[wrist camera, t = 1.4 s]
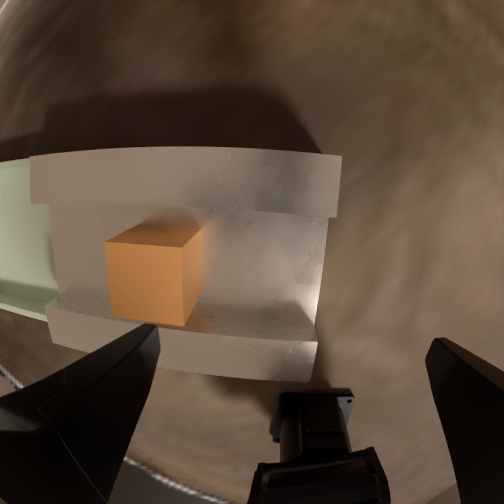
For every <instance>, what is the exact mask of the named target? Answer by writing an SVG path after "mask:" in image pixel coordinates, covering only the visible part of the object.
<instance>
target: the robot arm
mask: <svg viewBox="0 0 504 504" xmlns="http://www.w3.org/2000/svg"><path fill="white" fill-rule="evenodd" d="M160 349H161V346H160V338H159V329H158V326H157V325H155V324H149V323H144V324H142V325H140V326H138V327H137V328H135V329H133V330H131V331H129V332H128V333H126V334H124V335H122V336H120V337H119V338H117V339H115V340H113V341H111V342H110V343H108V344H106V345H104V346H102V347H101V348H99V349H97V350H95V351H93V352H91V353H90V354H88V355H86V356H84V357H82V358H81V359H79V360H77V361H75V362H73V363H71V364H70V365H68V366H66V367H65V368H64V369H63V368H62V369H60V370H59V371H57V372H55V373H53V374H51V375H49V376H47V377H45V378H43V379H41V380H39V381H37V382H35V383H33V384H30V385H28V386H26V387H23V388H21V389H19V390H16V391H14V392H12V393H9V394H7V395H4V396H2V397H0V504H107V503H108V501H109V498H110V495H111V493H112V490H113V487H114V484H115V481H116V479H117V476H118V473H119V470H120V468H121V465H122V462H123V459H124V457H125V454H126V451H127V449H128V446H129V443H130V441H131V438H132V436H133V433H134V430H135V428H136V425H137V423H138V420H139V418H140V415H141V412H142V410H143V407H144V405H145V402H146V400H147V397H148V395H149V392H150V388H151V385H152V381H153V377H154V373H155V370H156V366H157V362H158V358H159V355H160ZM425 364H426V368H427V372H428V377H429V381H430V385H431V390H432V394H433V398H434V402H435V405H436V408H437V411H438V414H439V418H440V421H441V424H442V428H443V431H444V434H445V438H446V441H447V445H448V449H449V452H450V456H451V460H452V464H453V468H454V472H455V477H456V481H457V485H458V490H459V495H460V500H461V504H504V371H502V370H500V369H499V368H497V367H495V366H493V365H492V364H490V363H488V362H487V361H485V360H483V359H481V358H480V357H478V356H476V355H475V354H473V353H471V352H469V351H468V350H466V349H464V348H463V347H461V346H459V345H457V344H456V343H454V342H452V341H450V340H449V339H447V338H444V337H441V338H435V339H434V340H433V341H432V343H431V346H430V348H429V351H428V353H427V355H426V359H425ZM284 398H287V399H284ZM348 399H350V400H348ZM354 402H355V397H354V395H353V394H301V393H283V394H281V395H280V396H279V402H278V408H277V414H276V420H275V426H274V432H273V442H275V443H280V462H279V463H258V466H257V471H255V473H254V478H253V482H252V486H251V491H250V495H249V499H248V502H247V504H391V499H390V490H389V485H388V481H387V478H386V475H385V473H384V470H383V468H382V466H381V463H380V461H379V459H378V456H377V454H376V452H375V450H374V447H368V448H366V449H364V450H359V451H355V452H352V449H351V445H350V440H349V435H348V431H347V426H346V425H347V422H348V419H349V416H350V414H351V411H352V408H353V405H354ZM277 438H279V439H277Z"/></svg>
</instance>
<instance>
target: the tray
mask: <svg viewBox="0 0 504 504" xmlns="http://www.w3.org/2000/svg"><path fill="white" fill-rule="evenodd" d="M57 296H59V289H58V283H57V277H56V270H55V263H54V255H53V246H52V236H51V224H50V208H49V204H31V200H30V158H26V159H19V160H13V161H6V162H0V308H1V309H5V310H8V311H11V312H15V313H18V314H21V315H25V316H28V317H32V318H36V319H39V320H43V321H47V317H46V312H45V308H44V306H45V305H46V304H48V303H49V302H50V301H52V300H53V299H55V298H56V297H57ZM47 322H48V321H47Z"/></svg>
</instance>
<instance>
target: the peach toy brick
mask: <svg viewBox="0 0 504 504" xmlns="http://www.w3.org/2000/svg"><path fill="white" fill-rule="evenodd" d="M201 230H202V229H197V228H181V227H164V226H146V225H136V226H134V227H132V228H130V229H128V230H126V231H124V232H122V233H120V234H118V235H116V236H114V237H113V238H111V239H109V240H107V241H105V242H104V244H105V257H106V269H107V279H108V288H109V297H110V304H111V312H112V316H115V317H121V318H127V319H134V320H140V321H147V322H153V323H161V324H168V325H175V326H183V327H184V325H185V323H186V321H187V319H188V318H189V316H190V314H191V312H192V310H193V308H194V306H195V304H196V302H197V301H198V299H199V297H200V295H201Z"/></svg>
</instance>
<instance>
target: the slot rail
mask: <svg viewBox="0 0 504 504" xmlns="http://www.w3.org/2000/svg"><path fill="white" fill-rule="evenodd" d="M341 162H342V156H335V155H326V154H317V153H307V152H296V151H284V150H270V149H254V148H232V147H135V148H114V149H98V150H85V151H74V152H64V153H54V154H46V155H38V156H30V200H31V204H49V208H50V224H51V236H52V246H53V255H54V263H55V270H56V277H57V283H58V289H59V296H57V297H56V298H55V299H53V300H52V301H50V302H49V303H48V304H46V305H45V306H44V308H45V312H46V317H47V321H48V325H49V329H50V333H51V337H52V341H53V343H55V344H59V345H62V346H66V347H70V348H73V349H77V350H81V351H85V352H89V353H91V352H93V351H95V350H97V349H99V348H101V347H102V346H104V345H106V344H108V343H110V342H111V341H113V340H115V339H117V338H119V337H120V336H122V335H124V334H126V333H128V332H129V331H131V330H133V329H135V328H137V327H138V326H140V325H142V324H144V323H149V324H155V325H157V326H158V329H159V338H160V346H161V349H160V355H159V358H158V362H157V366H156V367H161V368H167V369H173V370H179V371H186V372H193V373H200V374H208V375H216V376H225V377H235V378H245V379H257V380H271V381H289V382H310V380H311V375H312V370H313V365H314V360H315V355H316V350H317V345H318V340H317V335H316V331H315V326H314V323H315V317H316V310H317V304H318V297H319V291H320V284H321V276H322V269H323V262H324V254H325V246H326V237H327V228H328V219H329V217H335V218H336V216H337V207H338V197H339V186H340V175H341ZM136 225H146V226H164V227H181V228H197V229H202V230H201V295H200V297H199V299H198V301H197V302H196V304H195V306H194V308H193V310H192V312H191V314H190V316H189V318H188V319H187V321H186V323H185V325H184V327H183V326H175V325H168V324H161V323H153V322H147V321H140V320H134V319H127V318H121V317H115V316H112V312H111V304H110V297H109V288H108V279H107V269H106V257H105V244H104V242H105V241H107V240H109V239H111V238H113V237H114V236H116V235H118V234H120V233H122V232H124V231H126V230H128V229H130V228H132V227H134V226H136Z"/></svg>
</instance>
